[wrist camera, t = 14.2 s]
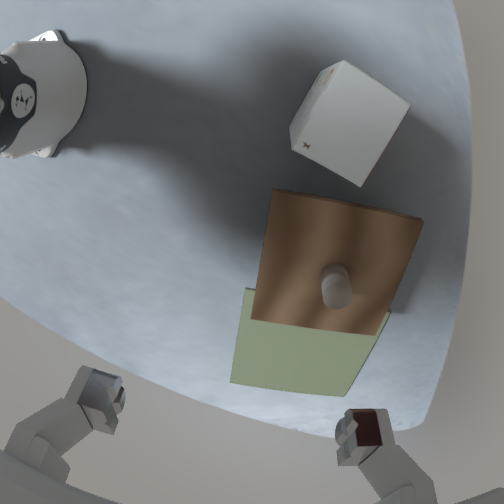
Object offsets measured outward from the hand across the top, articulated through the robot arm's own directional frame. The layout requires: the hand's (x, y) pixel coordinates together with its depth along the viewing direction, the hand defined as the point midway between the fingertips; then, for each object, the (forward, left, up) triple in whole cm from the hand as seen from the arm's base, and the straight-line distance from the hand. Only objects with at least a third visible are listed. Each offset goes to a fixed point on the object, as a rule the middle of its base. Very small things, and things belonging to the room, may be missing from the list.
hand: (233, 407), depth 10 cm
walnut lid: (+8, -8, -24) cm, 26 cm away
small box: (+5, +8, -30) cm, 32 cm away
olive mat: (+10, -28, -30) cm, 42 cm away
